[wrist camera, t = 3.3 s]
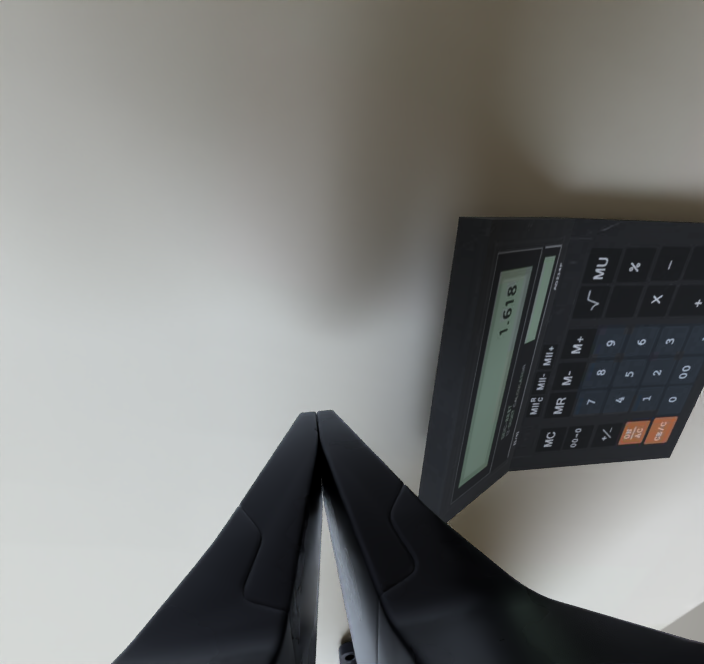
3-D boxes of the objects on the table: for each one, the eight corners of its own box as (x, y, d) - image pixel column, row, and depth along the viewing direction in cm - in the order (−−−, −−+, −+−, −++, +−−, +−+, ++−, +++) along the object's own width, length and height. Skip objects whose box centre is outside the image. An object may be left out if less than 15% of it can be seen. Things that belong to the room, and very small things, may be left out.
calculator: (650, 443, 15) (728, 499, 12) (398, 463, 13) (423, 532, 11) (747, 224, 12) (885, 233, 9) (426, 212, 10) (474, 219, 7)
